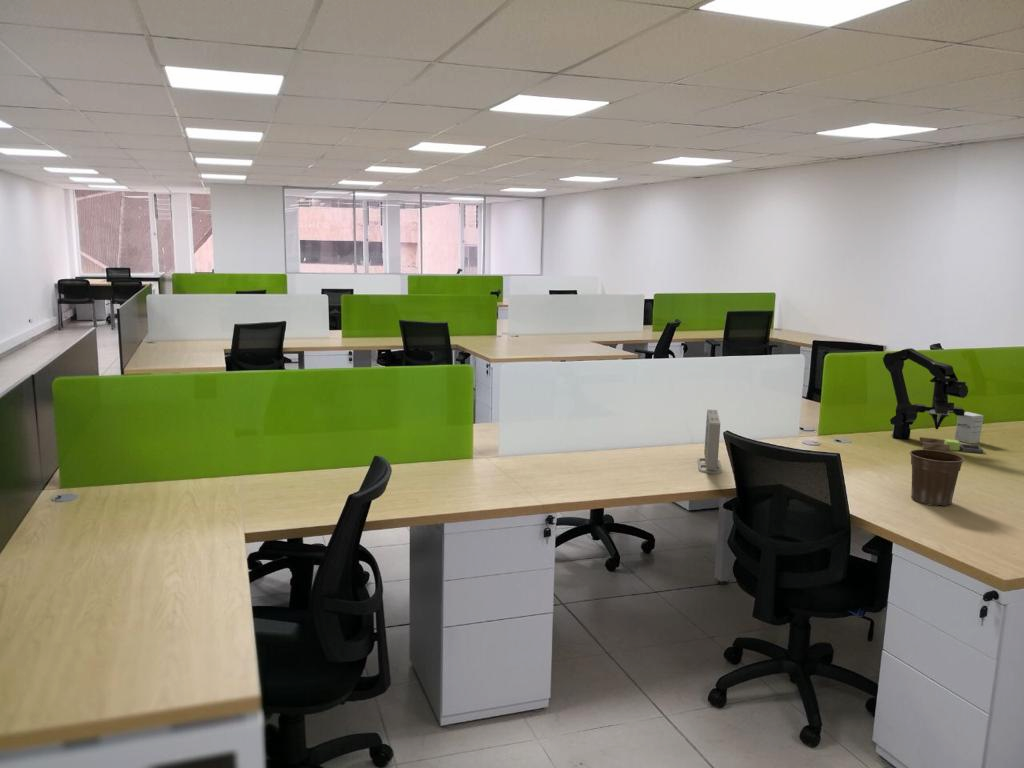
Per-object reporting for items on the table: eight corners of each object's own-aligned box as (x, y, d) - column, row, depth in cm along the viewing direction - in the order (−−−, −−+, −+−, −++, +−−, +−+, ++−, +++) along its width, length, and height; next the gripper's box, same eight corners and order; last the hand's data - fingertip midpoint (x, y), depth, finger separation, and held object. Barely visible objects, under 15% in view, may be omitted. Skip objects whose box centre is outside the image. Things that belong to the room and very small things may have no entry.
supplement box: (954, 440, 352) (957, 412, 350) (964, 438, 355) (968, 411, 353) (969, 443, 346) (973, 416, 344) (980, 442, 349) (984, 414, 347)
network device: (723, 476, 288) (726, 423, 285) (698, 474, 290) (702, 422, 287) (719, 458, 313) (722, 409, 310) (696, 456, 315) (700, 408, 311)
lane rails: (922, 448, 336) (923, 442, 335) (919, 442, 346) (919, 437, 346) (949, 451, 332) (949, 445, 332) (944, 445, 343) (945, 439, 342)
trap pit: (962, 451, 332) (962, 448, 332) (958, 447, 339) (959, 443, 339) (982, 453, 330) (983, 450, 329) (979, 449, 337) (979, 445, 337)
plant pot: (910, 490, 277) (916, 446, 274) (962, 500, 267) (968, 454, 264) (899, 501, 265) (904, 455, 262) (952, 512, 254) (958, 464, 252)
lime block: (945, 449, 336) (946, 441, 335) (943, 446, 340) (944, 439, 340) (958, 450, 334) (959, 442, 333) (956, 448, 339) (957, 440, 338)
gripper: (919, 395, 330) (915, 431, 333) (969, 398, 324) (964, 435, 327) (915, 390, 341) (911, 425, 344) (963, 394, 335) (959, 429, 337)
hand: (936, 429), depth 338 cm, fingers closed
